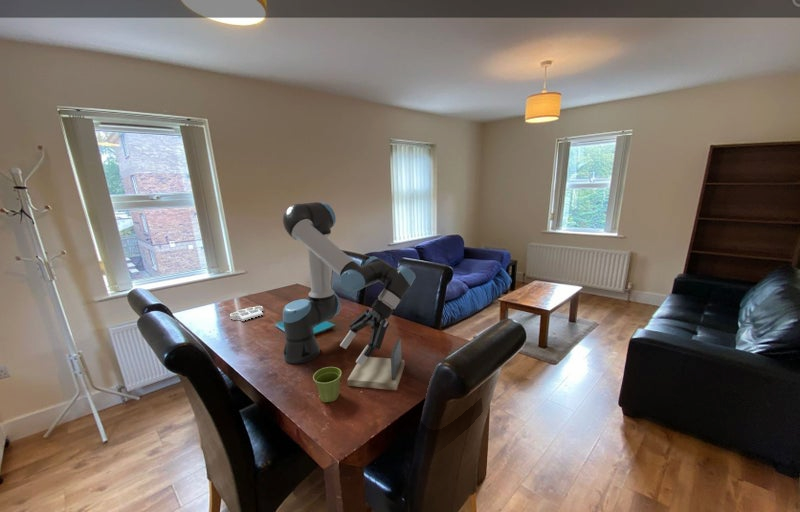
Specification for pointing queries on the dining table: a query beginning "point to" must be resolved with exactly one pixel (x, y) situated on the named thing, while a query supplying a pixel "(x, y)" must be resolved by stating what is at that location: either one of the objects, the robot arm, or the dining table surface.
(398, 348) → the bookend
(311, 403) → the dining table surface
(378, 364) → the shelf board
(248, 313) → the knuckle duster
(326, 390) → the plant pot
